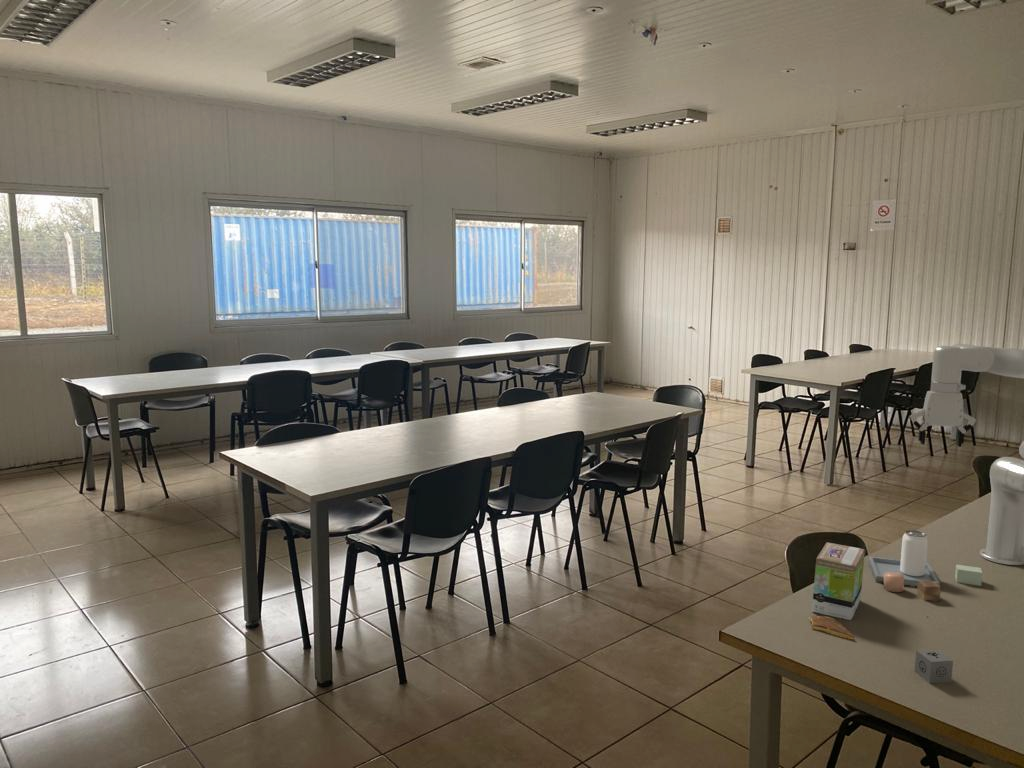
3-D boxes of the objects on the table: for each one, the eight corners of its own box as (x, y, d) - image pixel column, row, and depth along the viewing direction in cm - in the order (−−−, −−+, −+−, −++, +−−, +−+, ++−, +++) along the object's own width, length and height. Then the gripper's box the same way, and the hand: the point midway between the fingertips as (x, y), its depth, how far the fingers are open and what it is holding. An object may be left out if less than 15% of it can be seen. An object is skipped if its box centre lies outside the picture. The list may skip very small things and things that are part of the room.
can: (915, 568, 225) (918, 529, 223) (930, 576, 219) (933, 536, 217) (895, 569, 224) (898, 530, 223) (909, 577, 218) (912, 537, 216)
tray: (927, 568, 227) (928, 562, 226) (939, 589, 211) (939, 583, 211) (868, 562, 231) (869, 556, 231) (875, 581, 216) (876, 575, 216)
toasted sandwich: (854, 643, 181) (855, 635, 181) (823, 643, 181) (823, 636, 181) (833, 622, 192) (834, 615, 192) (803, 622, 192) (804, 616, 192)
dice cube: (935, 670, 168) (937, 649, 167) (951, 682, 163) (953, 660, 162) (914, 671, 167) (916, 650, 167) (929, 683, 162) (931, 661, 162)
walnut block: (932, 595, 208) (933, 581, 207) (939, 601, 204) (940, 587, 203) (917, 594, 208) (918, 580, 208) (923, 600, 204) (925, 586, 204)
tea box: (852, 621, 191) (856, 565, 189) (810, 612, 197) (814, 557, 195) (861, 600, 204) (865, 547, 202) (821, 592, 209) (825, 540, 207)
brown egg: (885, 584, 215) (885, 570, 215) (904, 587, 212) (904, 573, 212) (882, 590, 211) (882, 576, 210) (902, 593, 208) (902, 578, 208)
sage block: (979, 581, 218) (980, 567, 217) (981, 586, 214) (982, 572, 214) (954, 577, 220) (956, 564, 220) (956, 582, 217) (957, 569, 216)
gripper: (975, 387, 226) (970, 444, 228) (910, 384, 231) (905, 440, 234) (982, 391, 219) (976, 449, 221) (914, 388, 224) (910, 445, 227)
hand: (940, 444), depth 227 cm, fingers open, 9 cm apart
